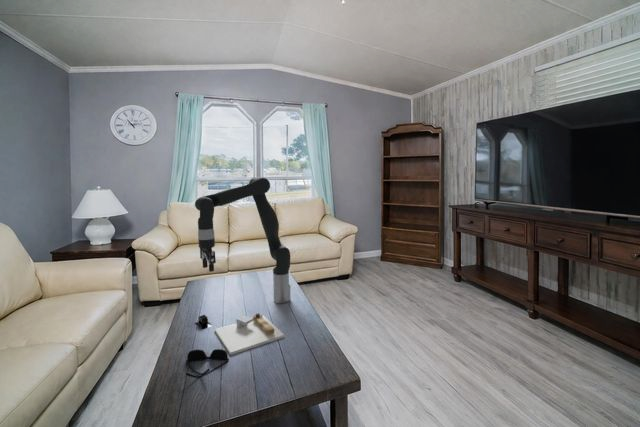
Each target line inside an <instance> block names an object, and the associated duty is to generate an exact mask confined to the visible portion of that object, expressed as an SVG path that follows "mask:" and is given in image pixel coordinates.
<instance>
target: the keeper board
mask: <svg viewBox="0 0 640 427" xmlns="http://www.w3.org/2000/svg"><path fill="white" fill-rule="evenodd" d="M262 318H263V319H264V320H265V321H267V322H268V323H269V324H270V325H271V326H272V327H273V328H274V333H273V334H270V335H268V334H267V333H266V332H265V331H264V330H263V329H262V328H261V327H260V326H259V325H258V324H257V323H256V322H254V321H253V317H251V316H248V315H245V314H243V315H242V316H239V317H238V318H236V322H235V323H232V324H229V325H225V326H221V327H217V328H214V332H215V334H216V336H217V337H218V338H219V340H220V342H221V343H222V344H223V347H225V350H226V352H228V353H229V355H230V356H232V355H235V354H238V353H241V352H244V351H247V350H250V349H253V348H257V347H259V346H262V345H265V344H268V343H270V342H273V341H277V340H280V339H283V338H284V337H285V334H284V333H283V332H282V331H281V330H280V329H279V328H277V326H275V325H274V324H273V323H272V322H271V321H270V320H269V319H268V318H267V317H266V316H264V315H262Z"/></svg>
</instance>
